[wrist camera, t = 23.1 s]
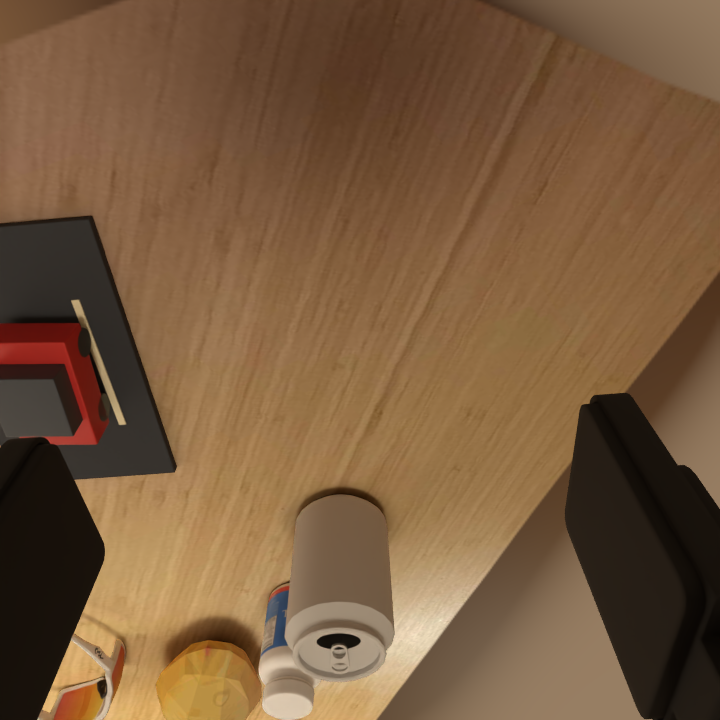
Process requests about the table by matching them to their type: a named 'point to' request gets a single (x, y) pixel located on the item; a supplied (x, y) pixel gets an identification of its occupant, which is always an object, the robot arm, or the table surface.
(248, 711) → the toy
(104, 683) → the sunglasses
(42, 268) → the mat
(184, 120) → the table surface
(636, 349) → the table surface
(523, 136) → the table surface
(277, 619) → the pill bottle
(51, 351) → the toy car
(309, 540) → the can
